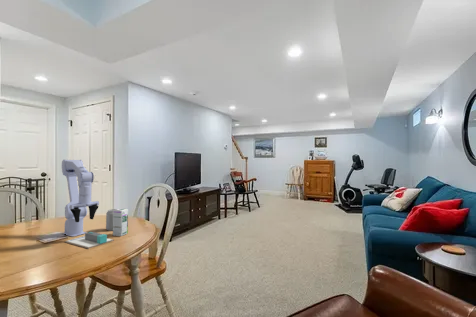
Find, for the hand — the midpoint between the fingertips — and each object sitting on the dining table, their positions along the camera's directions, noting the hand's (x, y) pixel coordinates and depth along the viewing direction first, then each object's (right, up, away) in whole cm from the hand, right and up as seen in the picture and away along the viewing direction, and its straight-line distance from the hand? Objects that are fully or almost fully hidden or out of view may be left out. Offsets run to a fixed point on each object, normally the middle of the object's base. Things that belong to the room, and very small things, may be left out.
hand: (84, 220), depth 132 cm
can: (+4, -11, +21) cm, 24 cm away
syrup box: (+14, -11, +11) cm, 21 cm away
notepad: (+4, -11, -2) cm, 11 cm away
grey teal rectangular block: (+7, -10, -3) cm, 13 cm away
